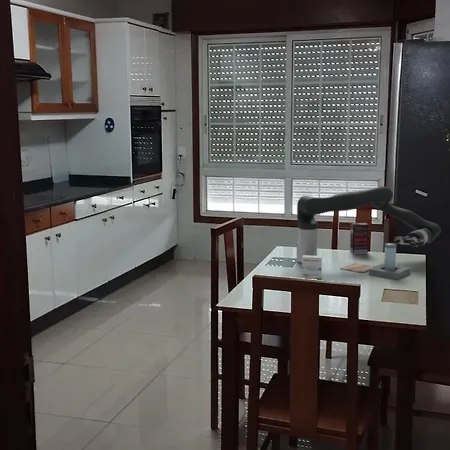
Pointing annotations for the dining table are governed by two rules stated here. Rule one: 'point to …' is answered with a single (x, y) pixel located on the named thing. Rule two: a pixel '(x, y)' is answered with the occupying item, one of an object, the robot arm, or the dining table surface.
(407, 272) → the frame
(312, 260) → the ink box
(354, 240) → the supplement box
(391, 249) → the cylinder
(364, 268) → the pad
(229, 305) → the dining table surface
